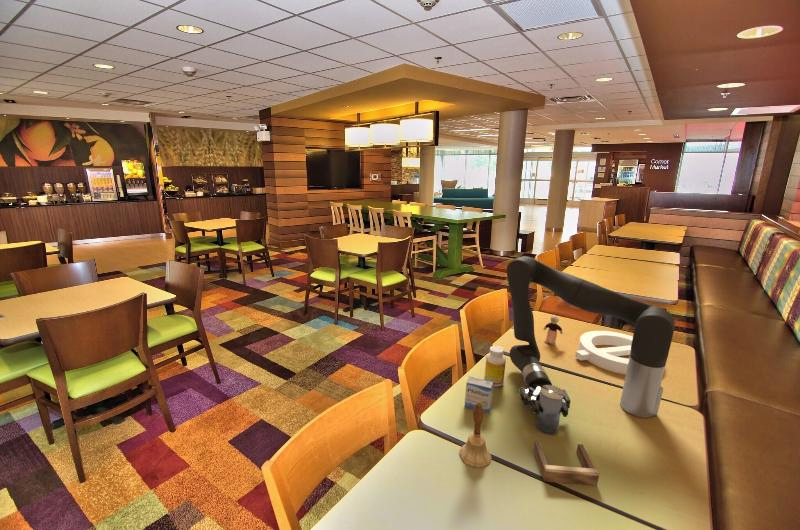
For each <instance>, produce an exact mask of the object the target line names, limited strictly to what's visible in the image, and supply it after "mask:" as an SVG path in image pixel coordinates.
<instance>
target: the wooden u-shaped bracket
mask: <svg viewBox="0 0 800 530" xmlns="http://www.w3.org/2000/svg"><path fill="white" fill-rule="evenodd" d="M533 453H534V455H535V459H536V462H537V464H538V468H539V470H540V473H541V477H542V480H543V482H549V483H557V484H559V483H560V484H571V485H581V486H582V485H583V486H595V487H596V486H597V487H598V481H599V477H600V471H599V469H598V468H595V465H594V464H593V461H592V459H591V458H590V456H589V453H588V452H587V450H586V448H585V446H584V444H583V443H580V444H579V443H577V448H576V452H575V453H576V456H577V458H578V460H579V462H580V464H581V465H582V467H578V466H576V467H574V466H563V465H553V464H552V465H551V464H548V461H547V458H546V455H545V453H544V449H543V448H542V444H541V443H540V440H534V441H533Z"/></svg>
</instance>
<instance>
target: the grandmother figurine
mask: <svg viewBox="0 0 800 530" xmlns="http://www.w3.org/2000/svg"><path fill="white" fill-rule="evenodd" d="M559 321H560V320H559V318H558V316H557V315H552V316H550V322H548V323H547V324H546V325H545V326H544V327H543V331H546V330H547V329H548V330H547V333H546V340H544V341H543V343H545V344H550V345H551V346H556V341H557V335H558V331H559V333H560V334H561V335H562V334H563V328H562V327H561V326H560V325H559V324H558V323H559Z"/></svg>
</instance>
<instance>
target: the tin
mask: <svg viewBox="0 0 800 530" xmlns="http://www.w3.org/2000/svg"><path fill="white" fill-rule="evenodd" d="M563 397H564V392H563V391H562V389H561V388H559V387H558V386H556V385H553V384H552V385H544V386H542V387H541V389H540V399H539V401H538V406H539V409H540V411H539V415H536V422H535V426H536V427H535V428H536V429H537V430H538V431H539V432H540V433H542V434H545V435H549V436H553V435H556V434H557V433H558V431H559V425H560V421H561V415H562V413H561V408H562V401H563Z"/></svg>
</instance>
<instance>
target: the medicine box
mask: <svg viewBox="0 0 800 530" xmlns="http://www.w3.org/2000/svg"><path fill="white" fill-rule="evenodd" d="M465 384H466V385H465V396H464V407H465V408H470V409H473V410H474V408H475V406H476V404H477V403H481V404H482V408H483V412H484V413H490V411H491V407H492V403H493V393H494V386H493V385H494V382H492V381H487V380H484V378H478V377H475V376H470V375H469V376H468V378H467V380H466V382H465Z"/></svg>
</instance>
